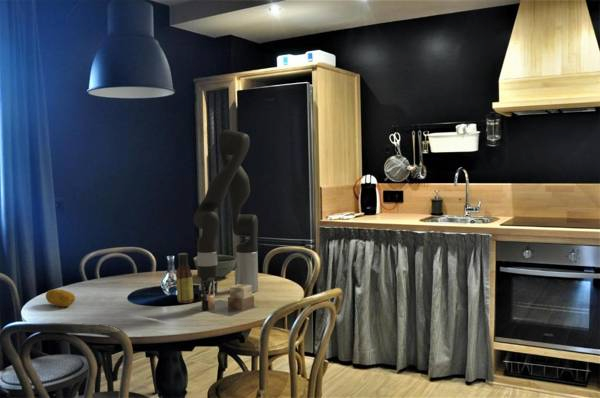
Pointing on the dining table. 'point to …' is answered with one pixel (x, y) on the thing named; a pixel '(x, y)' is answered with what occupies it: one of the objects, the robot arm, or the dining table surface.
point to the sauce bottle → (184, 280)
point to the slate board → (222, 308)
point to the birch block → (240, 291)
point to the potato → (60, 297)
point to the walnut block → (241, 303)
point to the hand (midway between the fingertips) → (208, 308)
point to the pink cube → (211, 302)
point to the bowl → (223, 265)
